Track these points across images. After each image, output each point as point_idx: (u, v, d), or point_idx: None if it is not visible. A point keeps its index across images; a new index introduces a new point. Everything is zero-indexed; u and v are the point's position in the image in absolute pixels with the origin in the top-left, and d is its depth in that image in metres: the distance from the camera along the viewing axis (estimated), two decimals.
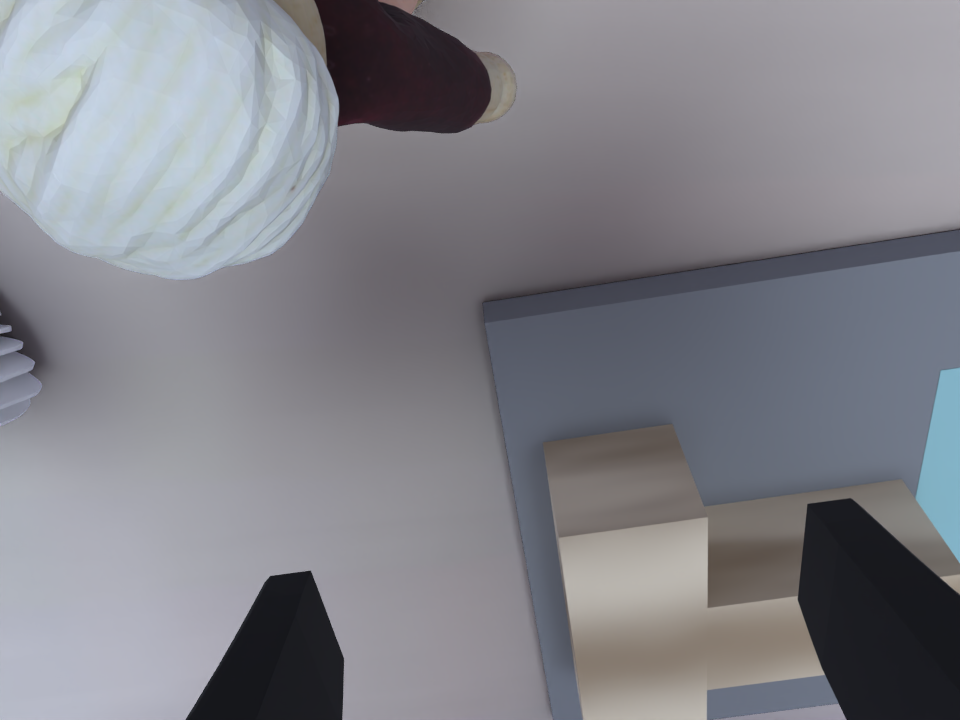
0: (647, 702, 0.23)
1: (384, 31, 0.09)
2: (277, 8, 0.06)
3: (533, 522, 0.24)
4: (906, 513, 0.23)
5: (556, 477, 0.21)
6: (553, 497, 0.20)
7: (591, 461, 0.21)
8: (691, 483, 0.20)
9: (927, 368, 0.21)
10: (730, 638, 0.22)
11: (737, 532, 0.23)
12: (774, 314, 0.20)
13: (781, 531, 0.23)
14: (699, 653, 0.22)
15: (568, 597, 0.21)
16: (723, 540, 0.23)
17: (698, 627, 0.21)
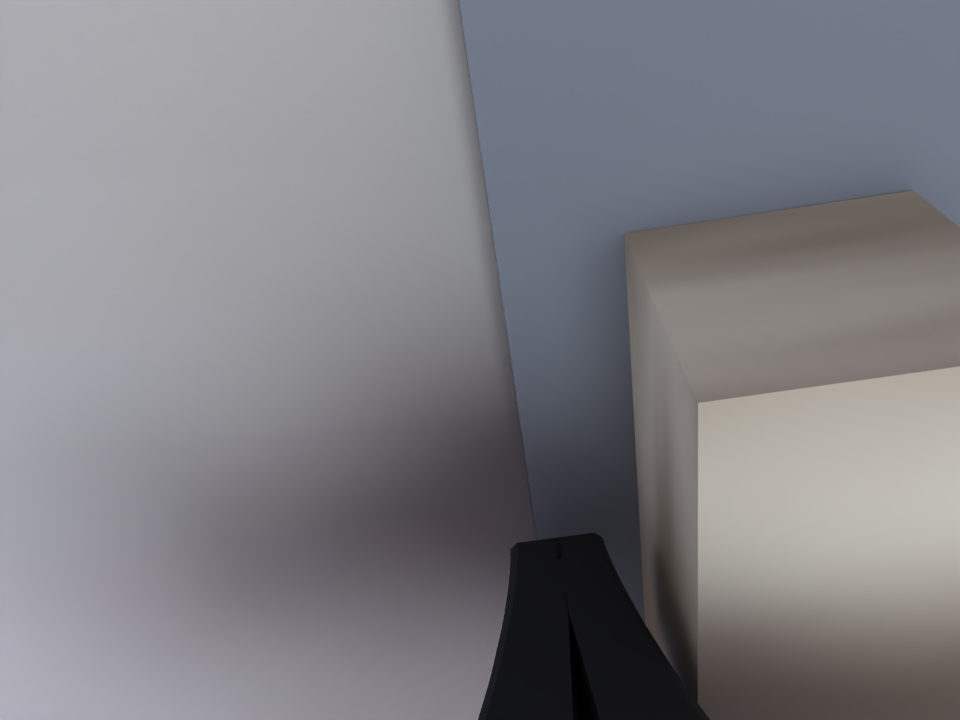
0: None
1: None
2: None
3: (549, 432, 0.12)
4: None
5: (666, 287, 0.09)
6: (666, 322, 0.08)
7: (744, 256, 0.09)
8: None
9: None
10: None
11: None
12: None
13: None
14: None
15: (701, 568, 0.08)
16: None
17: None
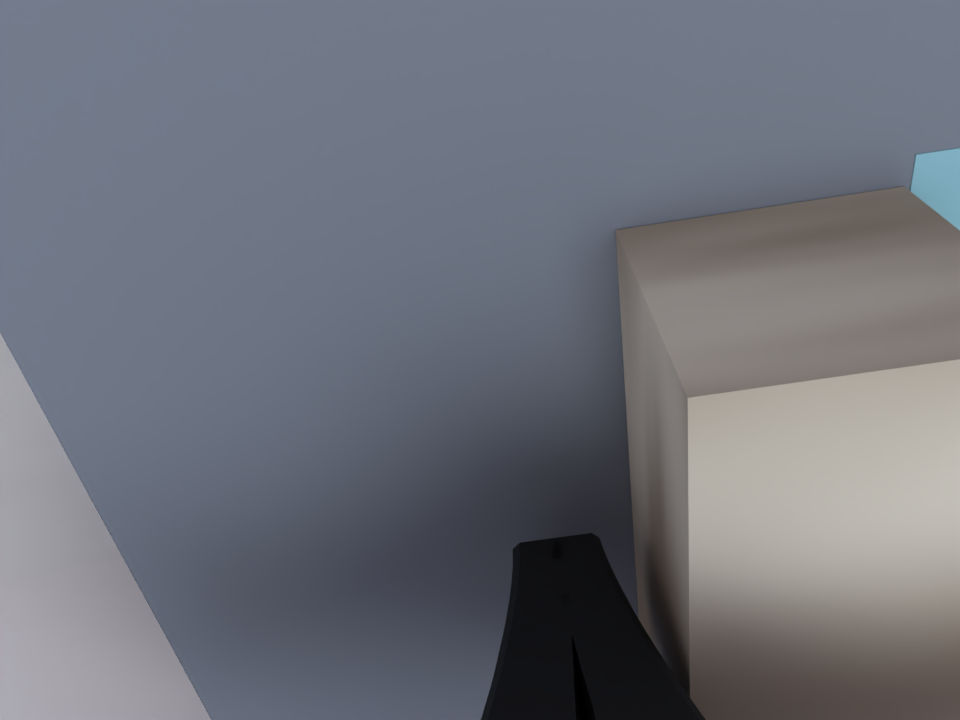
0: None
1: None
2: None
3: (116, 492, 0.12)
4: None
5: (657, 283, 0.09)
6: (657, 318, 0.08)
7: (735, 252, 0.09)
8: None
9: (886, 149, 0.10)
10: None
11: None
12: None
13: None
14: None
15: (692, 564, 0.08)
16: None
17: None
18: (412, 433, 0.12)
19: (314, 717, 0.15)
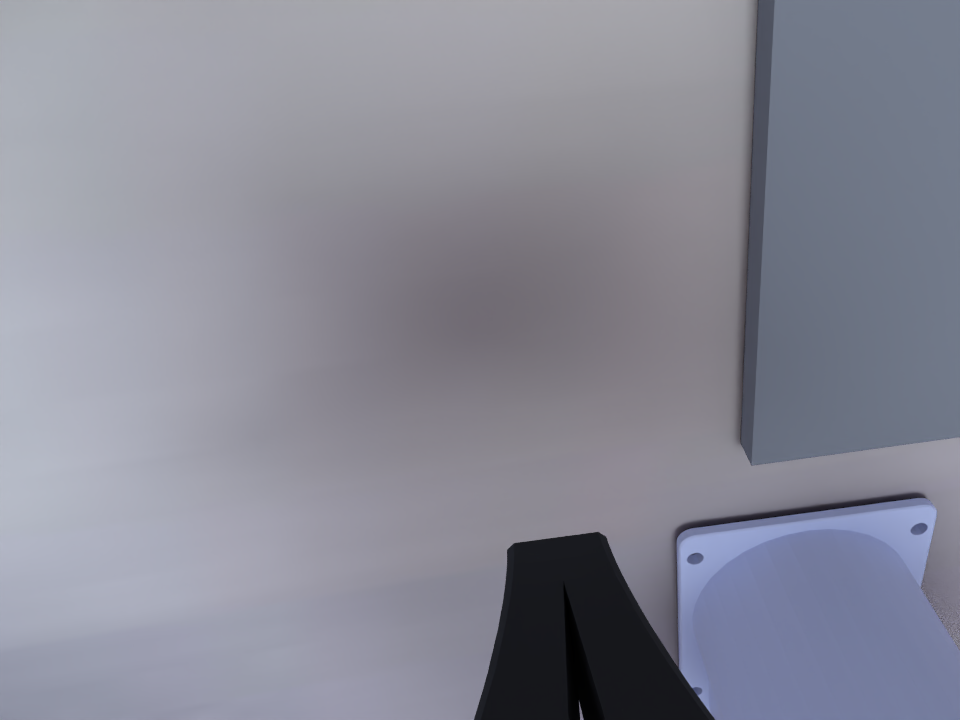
0: None
1: None
2: None
3: (790, 69, 0.17)
4: None
5: None
6: None
7: None
8: None
9: None
10: None
11: None
12: None
13: None
14: None
15: None
16: None
17: None
18: None
19: (833, 301, 0.21)
